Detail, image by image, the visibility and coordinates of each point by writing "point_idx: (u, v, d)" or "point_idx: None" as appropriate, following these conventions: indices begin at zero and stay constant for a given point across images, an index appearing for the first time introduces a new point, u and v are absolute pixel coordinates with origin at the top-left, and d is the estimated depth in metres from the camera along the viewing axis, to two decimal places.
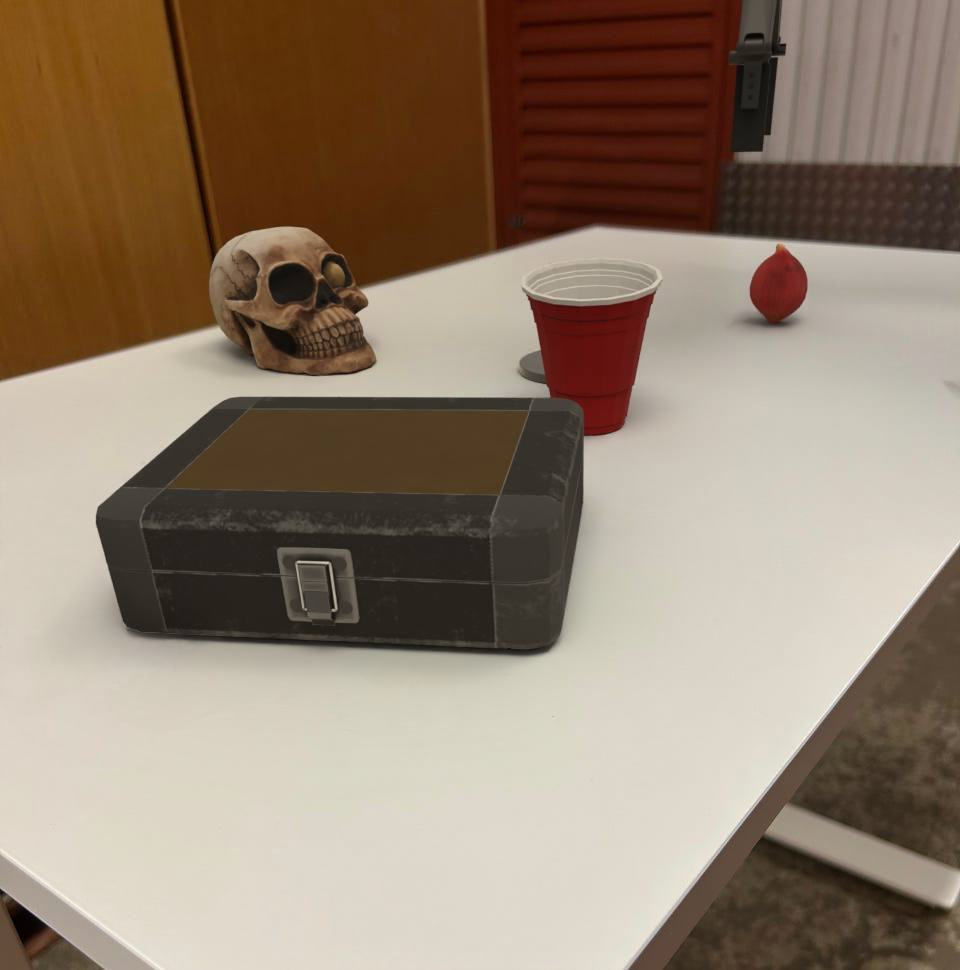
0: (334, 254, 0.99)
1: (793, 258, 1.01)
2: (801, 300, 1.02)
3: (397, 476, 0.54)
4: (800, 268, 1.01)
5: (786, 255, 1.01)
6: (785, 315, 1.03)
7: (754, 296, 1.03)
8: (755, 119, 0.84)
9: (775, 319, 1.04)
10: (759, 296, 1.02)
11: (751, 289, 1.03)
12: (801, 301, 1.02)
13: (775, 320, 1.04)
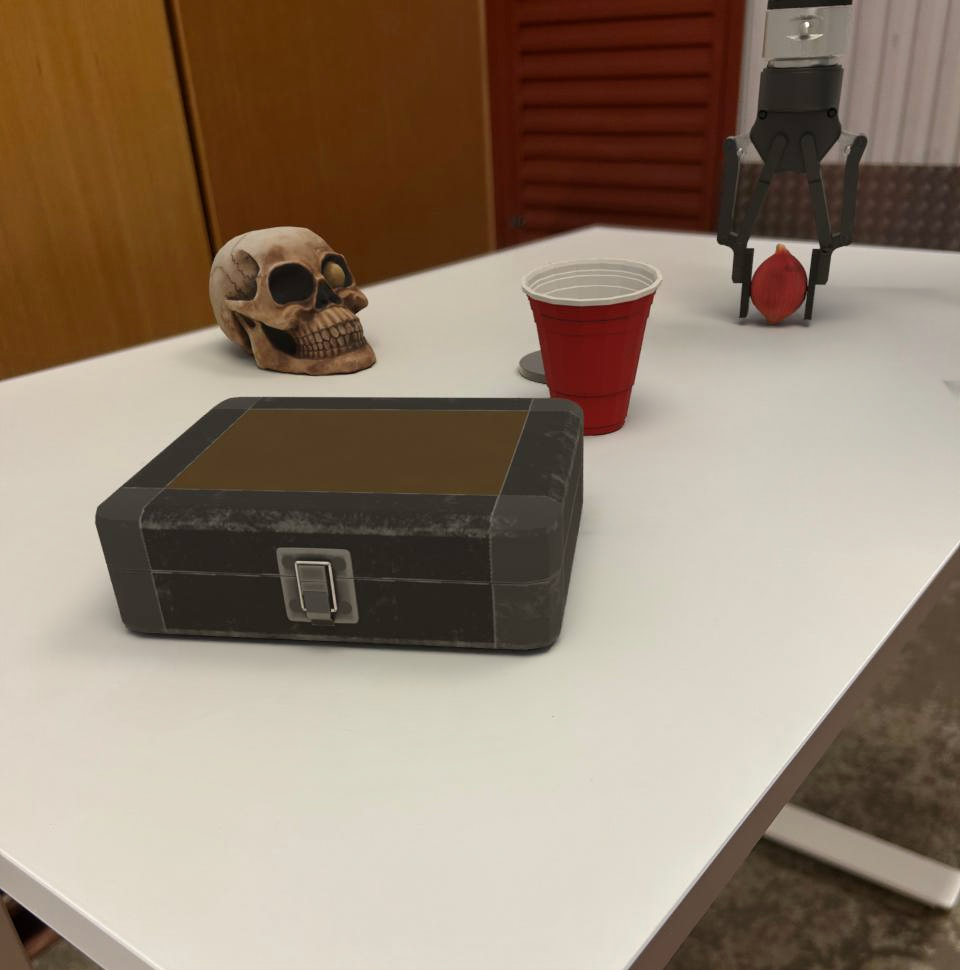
0: (334, 254, 0.99)
1: (793, 258, 1.01)
2: (801, 300, 1.02)
3: (397, 477, 0.54)
4: (800, 268, 1.01)
5: (786, 255, 1.01)
6: (785, 315, 1.03)
7: (754, 296, 1.03)
8: None
9: (775, 319, 1.04)
10: (759, 296, 1.02)
11: (751, 289, 1.03)
12: (801, 301, 1.02)
13: (775, 320, 1.04)
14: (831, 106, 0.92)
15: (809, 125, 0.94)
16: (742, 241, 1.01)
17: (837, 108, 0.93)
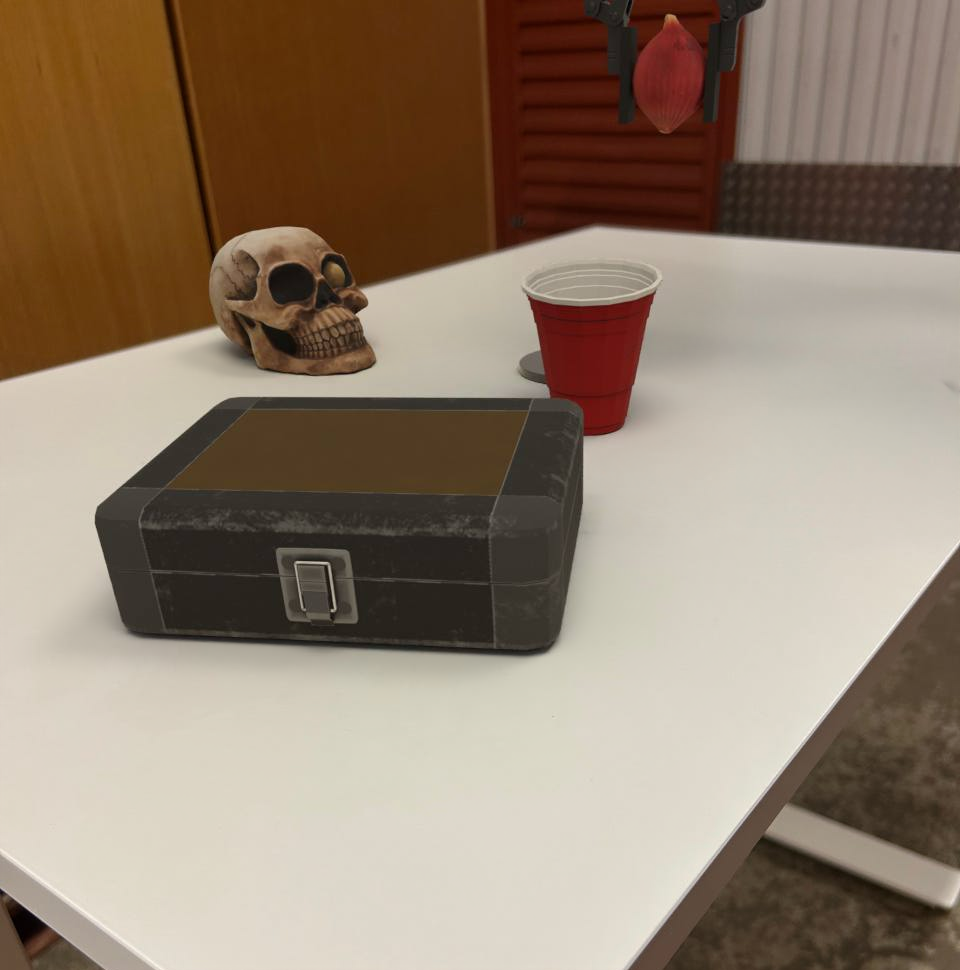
0: (334, 254, 0.99)
1: (687, 33, 0.74)
2: (699, 94, 0.75)
3: (396, 477, 0.54)
4: (696, 47, 0.74)
5: (677, 29, 0.74)
6: (678, 117, 0.76)
7: (636, 90, 0.76)
8: (718, 84, 0.76)
9: (666, 124, 0.77)
10: (642, 87, 0.75)
11: (633, 81, 0.76)
12: (699, 96, 0.76)
13: (666, 126, 0.77)
14: None
15: None
16: (617, 10, 0.74)
17: None
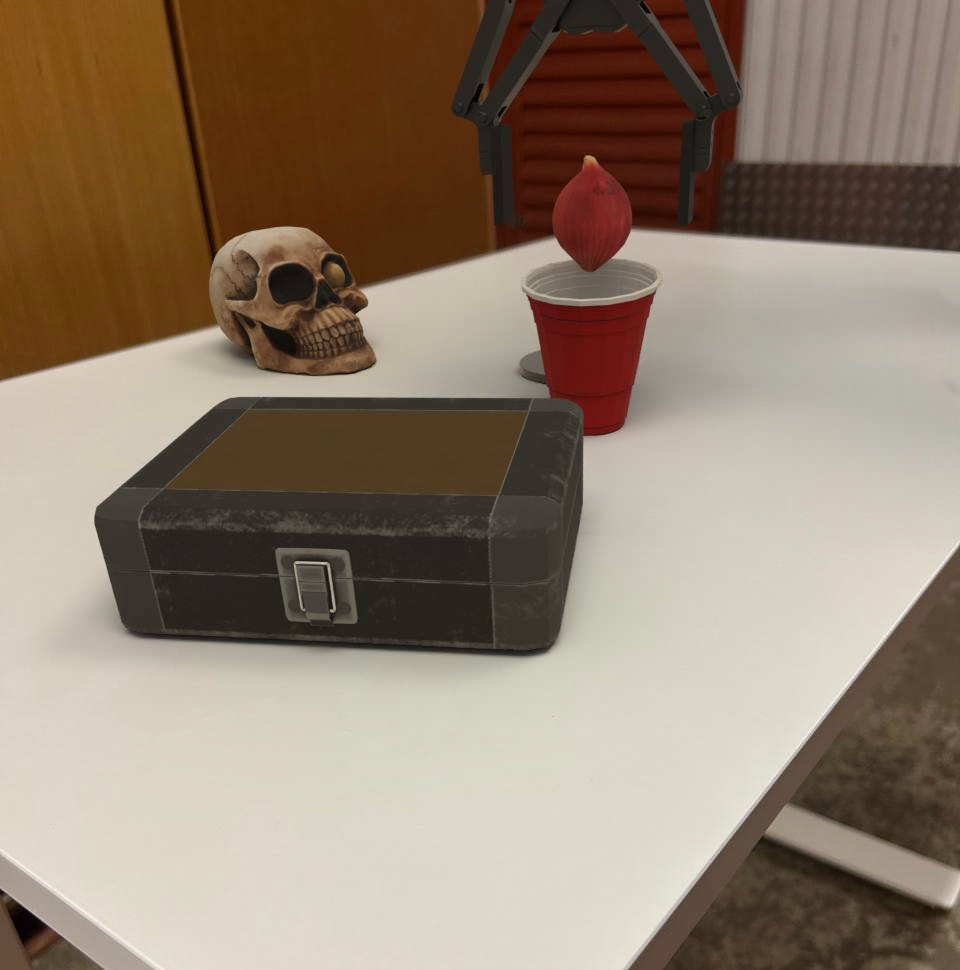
0: (334, 254, 0.99)
1: (607, 176, 0.71)
2: (621, 237, 0.72)
3: (396, 477, 0.54)
4: (617, 190, 0.71)
5: (596, 171, 0.71)
6: (601, 259, 0.73)
7: (556, 232, 0.73)
8: (693, 183, 0.71)
9: (589, 265, 0.74)
10: (561, 230, 0.72)
11: (553, 222, 0.73)
12: (621, 238, 0.72)
13: (589, 266, 0.74)
14: None
15: None
16: (488, 112, 0.71)
17: None
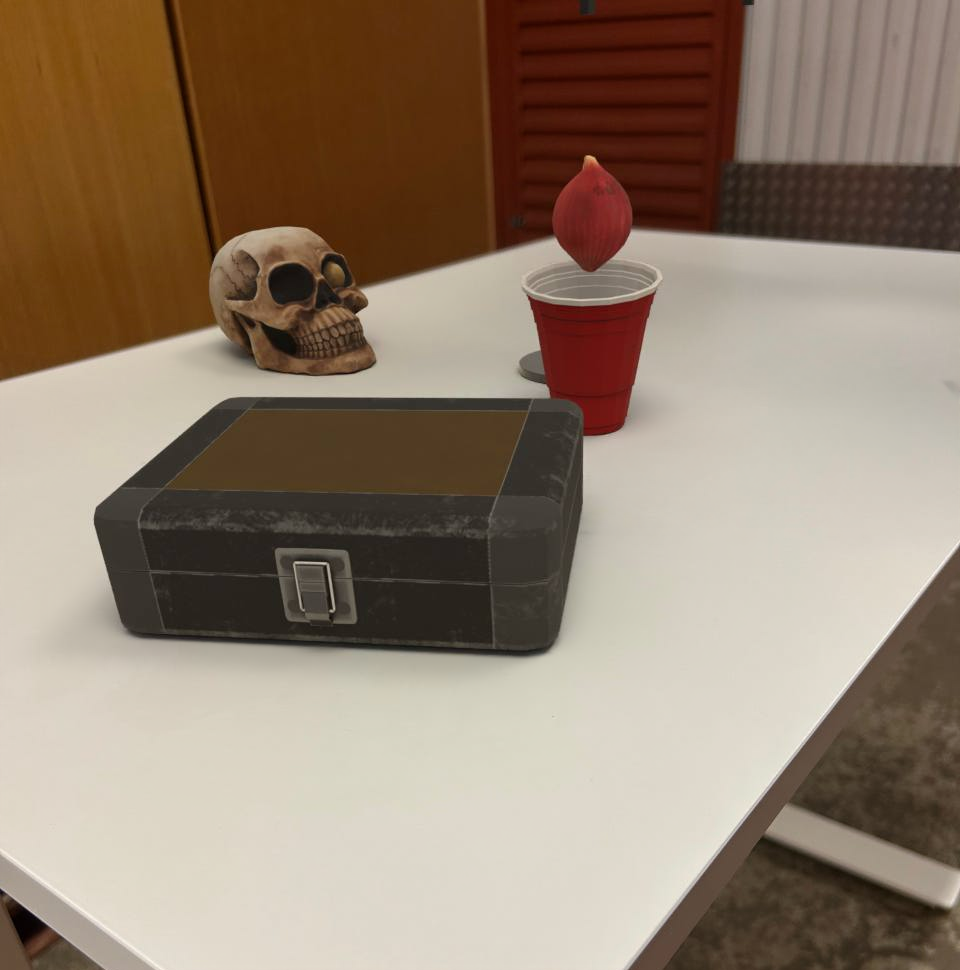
0: (334, 254, 0.99)
1: (607, 176, 0.71)
2: (621, 237, 0.72)
3: (395, 477, 0.54)
4: (617, 190, 0.71)
5: (597, 171, 0.71)
6: (601, 259, 0.73)
7: (556, 232, 0.73)
8: None
9: (589, 265, 0.74)
10: (562, 230, 0.72)
11: (553, 222, 0.73)
12: (622, 238, 0.72)
13: (589, 266, 0.74)
14: None
15: None
16: None
17: None
